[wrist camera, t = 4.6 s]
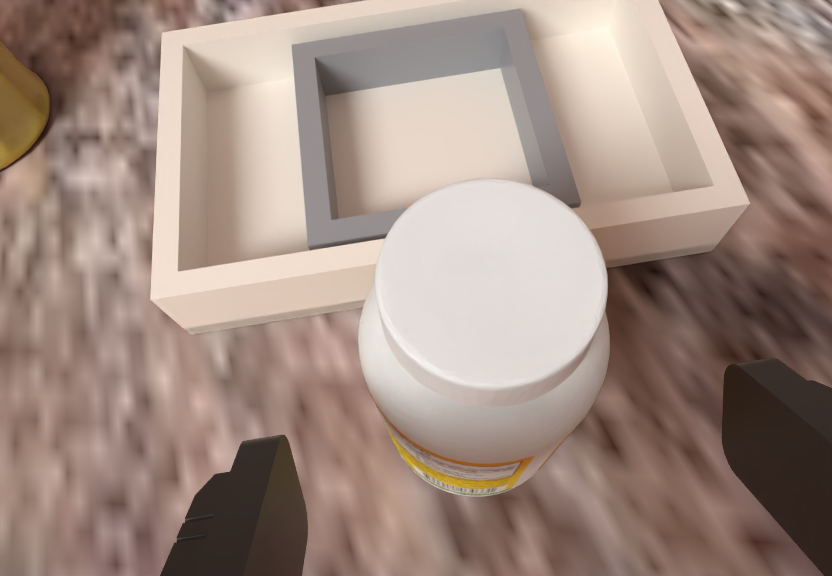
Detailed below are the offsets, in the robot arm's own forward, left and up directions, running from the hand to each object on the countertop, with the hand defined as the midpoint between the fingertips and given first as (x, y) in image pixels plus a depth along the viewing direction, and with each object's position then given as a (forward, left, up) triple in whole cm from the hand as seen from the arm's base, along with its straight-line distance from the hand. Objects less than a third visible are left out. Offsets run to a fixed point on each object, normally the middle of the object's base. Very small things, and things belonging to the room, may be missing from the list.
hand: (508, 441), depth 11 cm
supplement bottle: (0, +2, -8) cm, 8 cm away
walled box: (0, +12, -8) cm, 14 cm away
